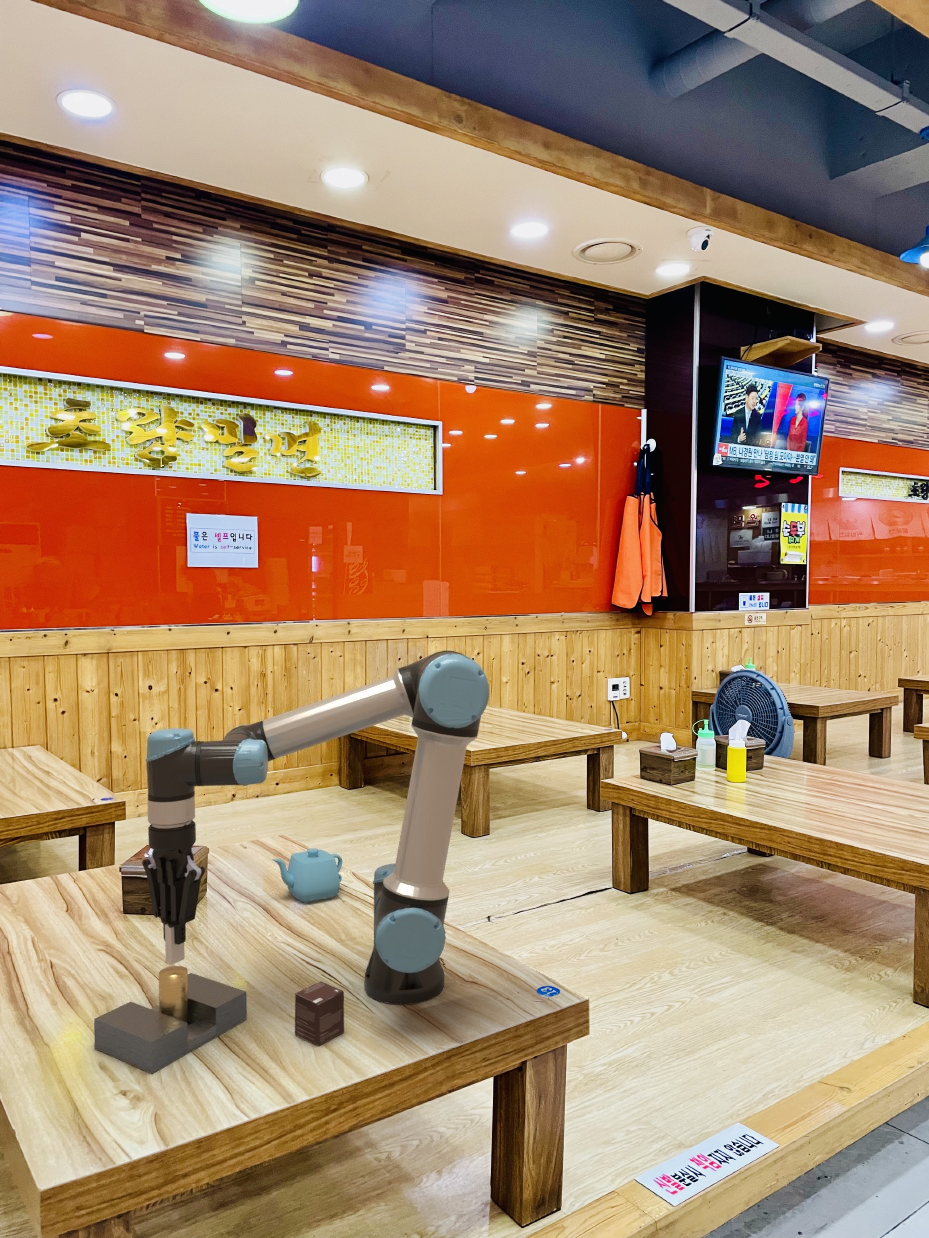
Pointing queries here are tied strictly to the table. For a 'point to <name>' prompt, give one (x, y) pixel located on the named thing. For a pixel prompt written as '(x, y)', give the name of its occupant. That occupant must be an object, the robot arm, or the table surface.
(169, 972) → the gold cylinder
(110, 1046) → the jig
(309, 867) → the teapot
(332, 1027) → the box
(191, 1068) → the table surface
